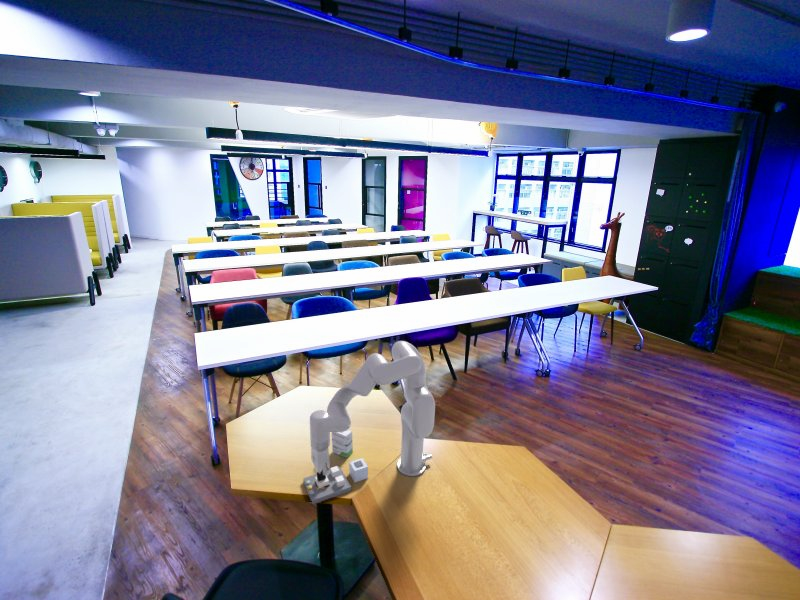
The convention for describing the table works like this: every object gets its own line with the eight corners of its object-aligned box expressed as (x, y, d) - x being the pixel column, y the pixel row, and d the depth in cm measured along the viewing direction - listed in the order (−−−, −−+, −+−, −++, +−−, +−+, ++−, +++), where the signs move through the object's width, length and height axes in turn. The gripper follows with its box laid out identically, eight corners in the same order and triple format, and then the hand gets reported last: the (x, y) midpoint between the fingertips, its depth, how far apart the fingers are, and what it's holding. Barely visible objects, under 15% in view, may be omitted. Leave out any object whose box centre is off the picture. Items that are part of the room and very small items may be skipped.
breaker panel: (340, 470, 178) (339, 461, 177) (351, 490, 167) (351, 481, 166) (303, 482, 171) (303, 473, 169) (312, 504, 160) (312, 495, 158)
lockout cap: (362, 469, 179) (362, 457, 177) (367, 478, 174) (368, 466, 172) (349, 473, 176) (349, 461, 174) (354, 482, 171) (354, 470, 169)
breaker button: (325, 477, 170) (325, 473, 169) (329, 484, 166) (328, 480, 166) (315, 480, 168) (315, 477, 167) (318, 488, 164) (318, 484, 164)
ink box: (353, 452, 189) (353, 430, 185) (347, 458, 185) (346, 436, 181) (338, 446, 193) (337, 424, 189) (331, 452, 189) (331, 430, 185)
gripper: (305, 432, 165) (307, 470, 171) (316, 455, 153) (318, 494, 159) (323, 427, 169) (324, 464, 174) (335, 449, 156) (336, 488, 162)
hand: (321, 478), depth 167 cm, fingers closed
